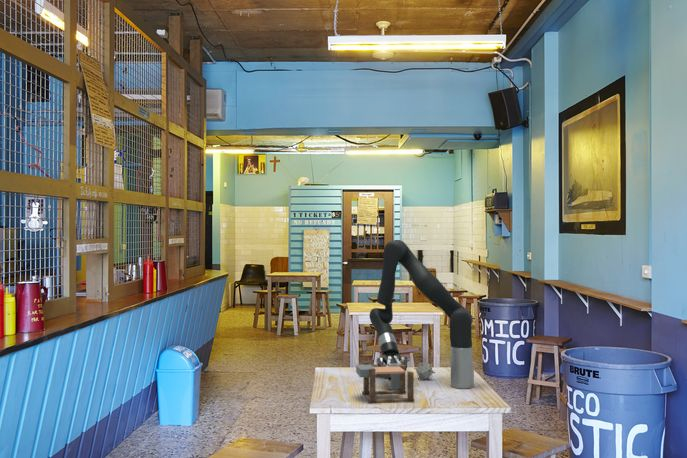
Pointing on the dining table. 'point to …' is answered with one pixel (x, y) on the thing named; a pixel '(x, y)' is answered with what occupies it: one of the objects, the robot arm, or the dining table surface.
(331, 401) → the dining table surface
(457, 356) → the robot arm
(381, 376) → the marble piece
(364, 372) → the trapdoor
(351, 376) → the dining table surface
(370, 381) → the frame
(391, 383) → the slate block
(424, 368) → the game die
